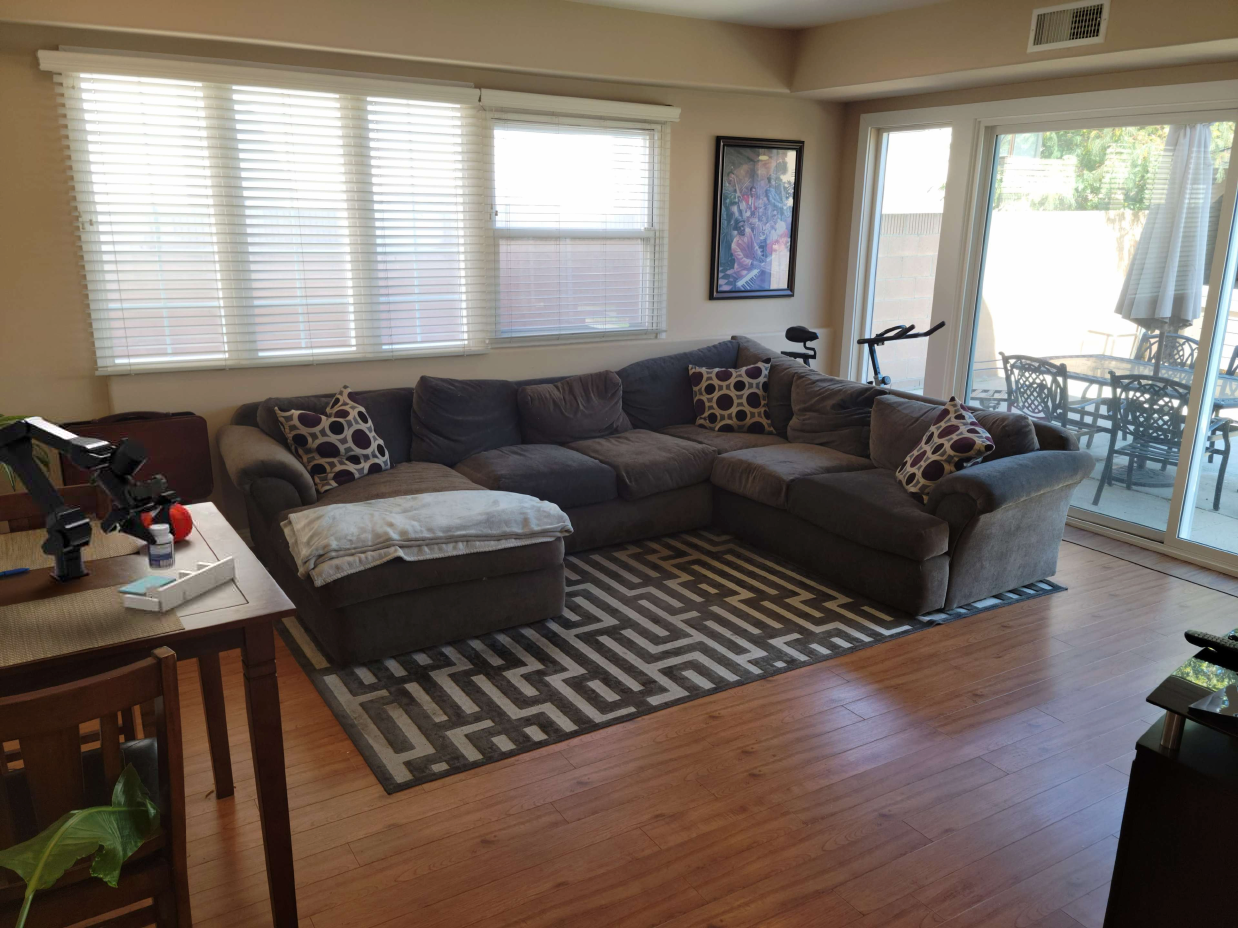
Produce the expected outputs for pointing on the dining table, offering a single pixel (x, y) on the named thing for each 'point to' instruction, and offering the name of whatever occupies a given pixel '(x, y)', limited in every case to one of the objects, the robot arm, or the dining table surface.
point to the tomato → (175, 521)
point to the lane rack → (184, 586)
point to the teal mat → (140, 585)
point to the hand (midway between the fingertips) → (165, 540)
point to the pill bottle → (161, 548)
